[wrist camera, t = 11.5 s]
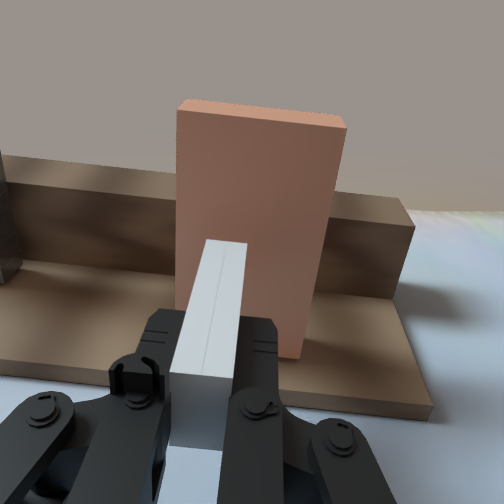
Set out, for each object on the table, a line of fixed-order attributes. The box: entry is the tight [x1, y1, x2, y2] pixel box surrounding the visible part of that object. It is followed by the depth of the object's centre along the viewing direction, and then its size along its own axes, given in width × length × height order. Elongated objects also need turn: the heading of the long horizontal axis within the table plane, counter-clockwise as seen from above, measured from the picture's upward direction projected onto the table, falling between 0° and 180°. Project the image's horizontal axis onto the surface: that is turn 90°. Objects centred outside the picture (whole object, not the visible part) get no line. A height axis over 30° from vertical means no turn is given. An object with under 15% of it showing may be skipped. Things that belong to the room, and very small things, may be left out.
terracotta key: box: [175, 99, 347, 359], centre depth 19 cm, size 6×2×11 cm, turn 87°
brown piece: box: [0, 155, 433, 421], centre depth 23 cm, size 34×12×6 cm, turn 87°
